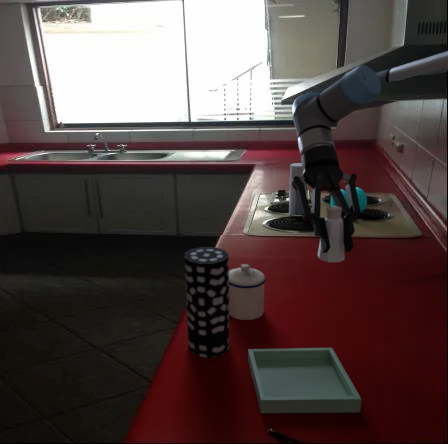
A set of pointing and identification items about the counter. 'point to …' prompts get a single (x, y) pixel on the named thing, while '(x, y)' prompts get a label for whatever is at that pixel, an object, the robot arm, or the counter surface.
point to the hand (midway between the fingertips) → (338, 249)
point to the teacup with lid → (246, 293)
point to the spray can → (294, 207)
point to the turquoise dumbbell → (361, 198)
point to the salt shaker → (333, 236)
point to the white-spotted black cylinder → (207, 301)
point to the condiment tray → (301, 381)
